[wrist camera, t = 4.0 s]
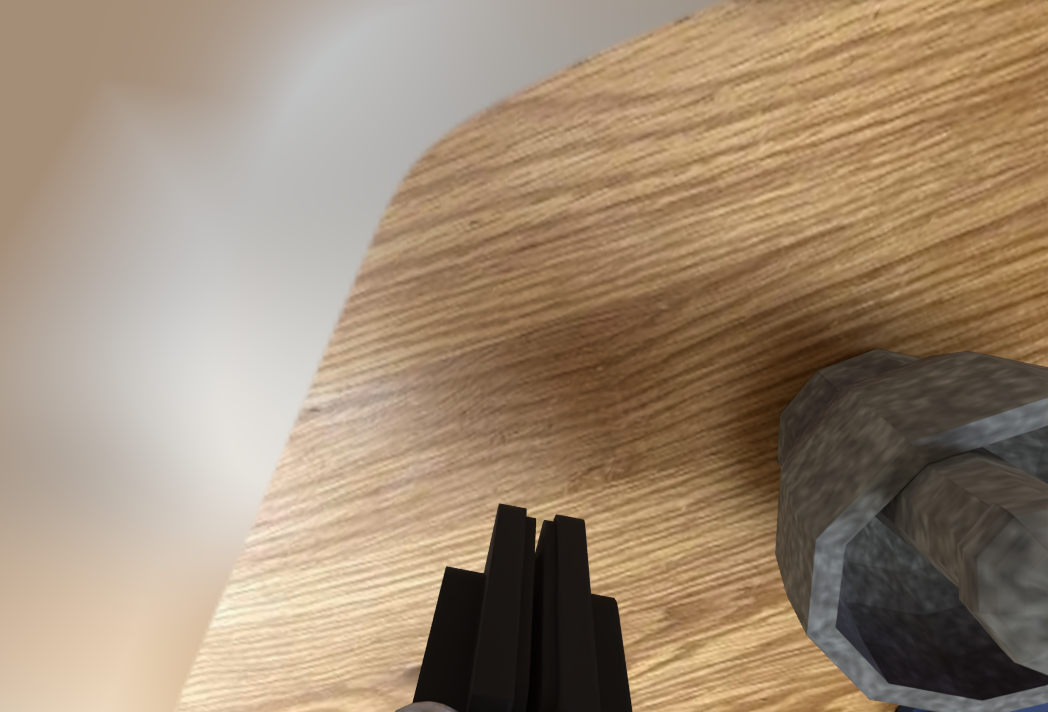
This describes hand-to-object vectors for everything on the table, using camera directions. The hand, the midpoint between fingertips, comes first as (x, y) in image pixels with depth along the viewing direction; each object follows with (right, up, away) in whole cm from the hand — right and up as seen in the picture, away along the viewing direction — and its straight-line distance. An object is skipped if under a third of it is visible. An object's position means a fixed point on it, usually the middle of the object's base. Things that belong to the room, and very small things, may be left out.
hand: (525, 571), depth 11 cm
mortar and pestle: (+11, +2, +9) cm, 15 cm away
